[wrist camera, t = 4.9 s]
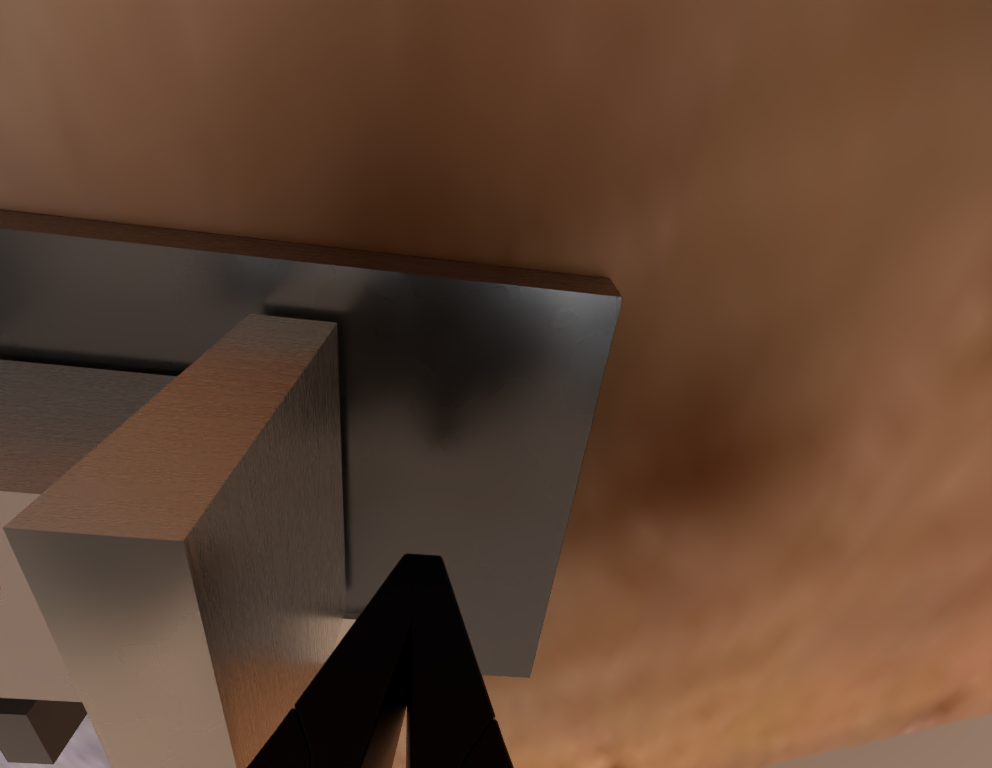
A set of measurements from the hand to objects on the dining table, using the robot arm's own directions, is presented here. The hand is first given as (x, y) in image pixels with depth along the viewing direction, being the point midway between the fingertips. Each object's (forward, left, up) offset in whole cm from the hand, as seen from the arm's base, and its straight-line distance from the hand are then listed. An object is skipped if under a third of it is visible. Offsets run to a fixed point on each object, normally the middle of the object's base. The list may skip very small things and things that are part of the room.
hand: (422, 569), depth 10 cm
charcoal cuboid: (+9, +6, -2) cm, 10 cm away
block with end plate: (+6, +1, -2) cm, 6 cm away
